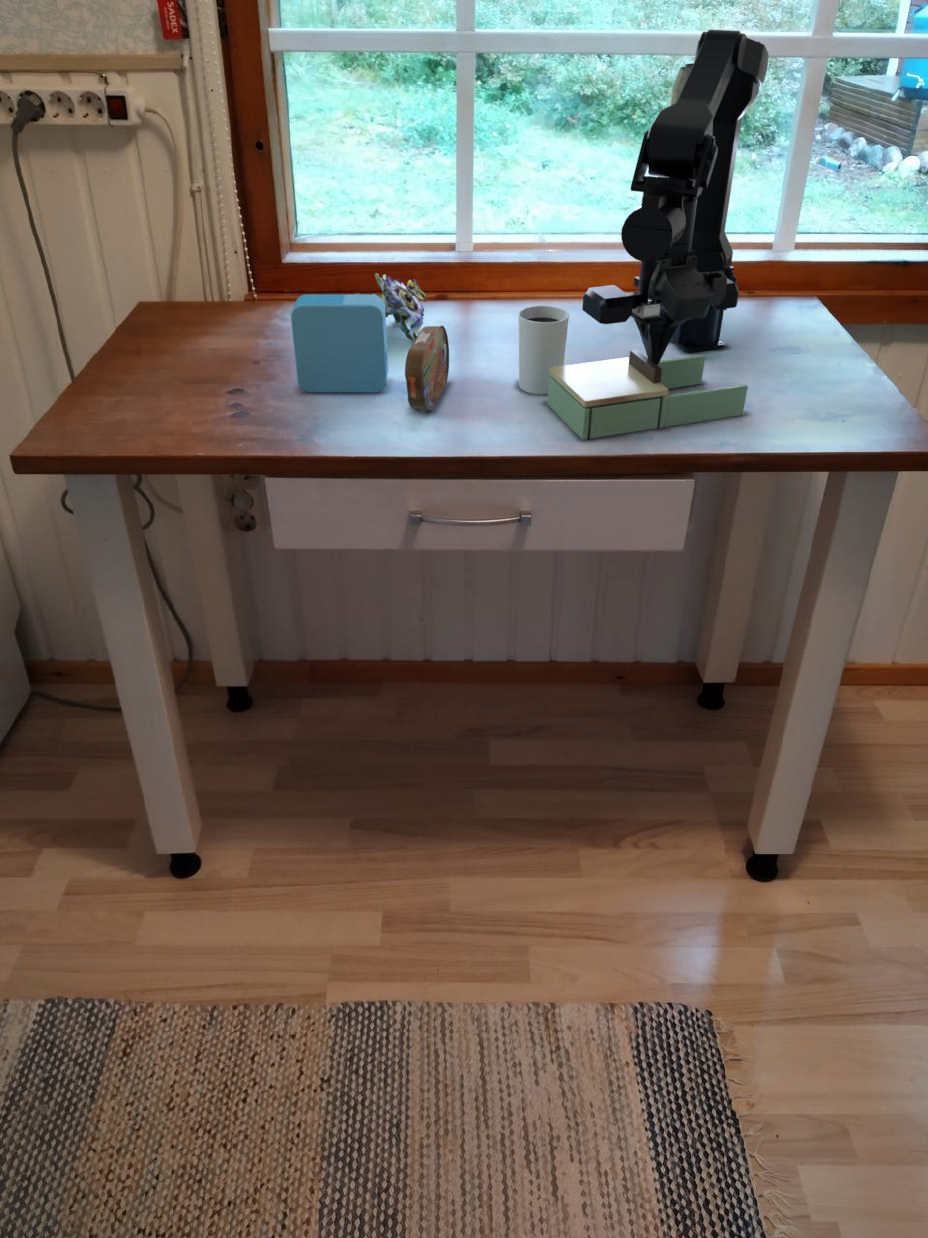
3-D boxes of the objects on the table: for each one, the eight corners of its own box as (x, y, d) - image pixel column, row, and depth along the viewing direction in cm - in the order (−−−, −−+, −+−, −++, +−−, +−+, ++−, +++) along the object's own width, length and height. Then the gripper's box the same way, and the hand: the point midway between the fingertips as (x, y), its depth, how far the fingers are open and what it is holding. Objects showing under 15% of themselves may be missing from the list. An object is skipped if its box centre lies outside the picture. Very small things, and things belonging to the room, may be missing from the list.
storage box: (698, 382, 137) (702, 354, 135) (742, 415, 128) (748, 385, 126) (546, 403, 131) (548, 375, 129) (582, 439, 122) (584, 409, 120)
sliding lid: (627, 362, 132) (629, 343, 130) (668, 395, 123) (670, 375, 121) (548, 373, 129) (549, 353, 127) (584, 407, 120) (586, 387, 118)
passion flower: (416, 373, 154) (427, 327, 142) (346, 361, 152) (352, 314, 141) (422, 312, 157) (433, 263, 146) (353, 300, 156) (360, 250, 144)
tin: (426, 420, 127) (425, 357, 122) (403, 418, 127) (400, 355, 123) (451, 376, 139) (451, 316, 134) (429, 374, 139) (428, 315, 134)
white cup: (571, 381, 137) (576, 310, 131) (553, 399, 132) (558, 325, 127) (527, 373, 140) (529, 302, 134) (508, 390, 135) (510, 318, 129)
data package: (388, 379, 138) (384, 293, 131) (386, 393, 134) (382, 305, 127) (302, 379, 138) (294, 293, 131) (298, 392, 134) (289, 305, 127)
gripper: (627, 265, 109) (615, 399, 118) (773, 248, 113) (751, 378, 123) (584, 239, 117) (576, 365, 126) (723, 224, 122) (705, 347, 131)
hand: (653, 364), depth 126 cm, fingers closed
